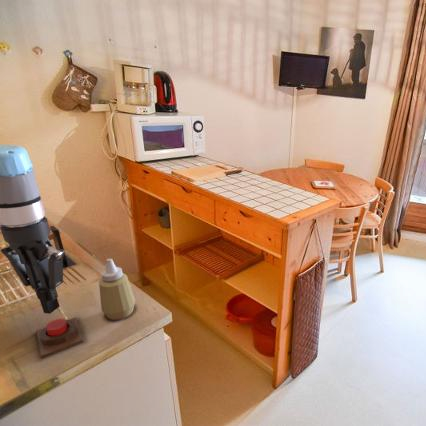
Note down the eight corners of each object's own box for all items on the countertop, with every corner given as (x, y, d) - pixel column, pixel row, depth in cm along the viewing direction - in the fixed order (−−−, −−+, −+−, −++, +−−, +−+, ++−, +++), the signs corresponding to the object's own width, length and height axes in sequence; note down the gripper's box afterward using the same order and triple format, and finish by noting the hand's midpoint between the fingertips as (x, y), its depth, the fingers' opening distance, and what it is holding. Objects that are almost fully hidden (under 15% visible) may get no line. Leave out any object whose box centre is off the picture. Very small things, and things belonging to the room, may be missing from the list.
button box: (38, 335, 80) (34, 325, 79) (77, 322, 85) (74, 311, 84) (42, 361, 74) (38, 349, 72) (84, 344, 79) (81, 333, 77)
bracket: (36, 265, 107) (25, 229, 101) (64, 256, 113) (55, 221, 108) (48, 277, 102) (36, 239, 96) (76, 266, 108) (67, 230, 103)
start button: (46, 329, 78) (44, 323, 77) (66, 322, 81) (65, 316, 80) (48, 339, 76) (46, 332, 75) (69, 331, 78) (67, 325, 77)
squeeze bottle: (118, 328, 84) (106, 271, 77) (96, 319, 87) (82, 263, 80) (143, 309, 92) (134, 256, 84) (122, 301, 94) (111, 249, 87)
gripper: (67, 216, 70) (89, 302, 79) (11, 210, 71) (40, 296, 80) (36, 231, 63) (64, 323, 72) (-25, 224, 64) (11, 317, 73)
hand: (51, 309), depth 76 cm, fingers closed
